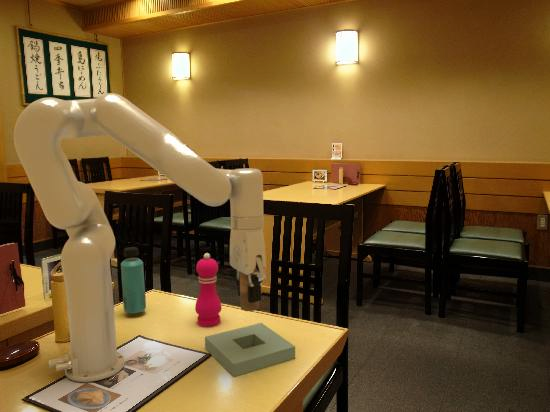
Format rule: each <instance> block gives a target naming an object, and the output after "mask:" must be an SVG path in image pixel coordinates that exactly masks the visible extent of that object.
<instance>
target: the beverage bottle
mask: <svg viewBox="0 0 550 412" xmlns="http://www.w3.org/2000/svg"><path fill="white" fill-rule="evenodd" d="M139 252H140V251H139V248H138V247H135V246H130V247H125V248H123V256H124V257H125V259H124V260H123V261H121V263H120V270H121V271H120V272H121V280H120V281H121V285H122V286H121V289H122V304H123V310H124V312H125V313H126V314H138V313H142V312H143V311H144V312H145V310H146V309H147V301H146V299H147V298H146V297H147V296H146V285H145V274H144V273H145V272H144V262H143V260H142V259H140V258H138V257H137V256H139V255H140V253H139Z"/></svg>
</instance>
